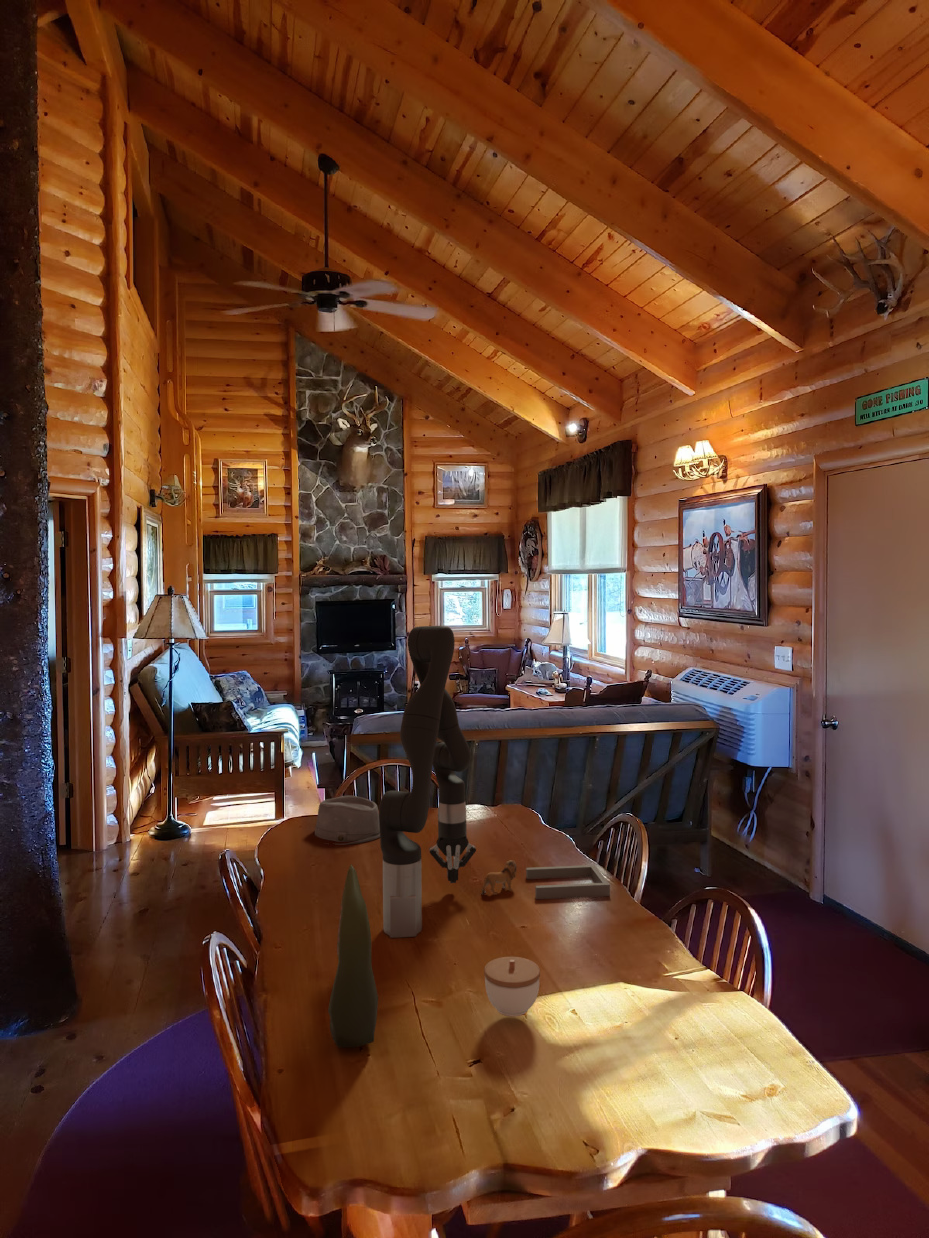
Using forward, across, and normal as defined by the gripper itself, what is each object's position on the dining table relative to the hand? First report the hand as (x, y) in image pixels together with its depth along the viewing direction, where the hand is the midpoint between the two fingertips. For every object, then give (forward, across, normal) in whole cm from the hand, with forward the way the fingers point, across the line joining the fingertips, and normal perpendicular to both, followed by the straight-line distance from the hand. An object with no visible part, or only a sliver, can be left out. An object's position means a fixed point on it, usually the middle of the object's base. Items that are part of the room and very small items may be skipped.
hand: (453, 881), depth 215 cm
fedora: (+4, -30, +51) cm, 60 cm away
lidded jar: (+2, +5, -61) cm, 61 cm away
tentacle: (+2, -25, -67) cm, 72 cm away
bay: (+3, +30, -1) cm, 30 cm away
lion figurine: (+3, +12, -1) cm, 13 cm away
